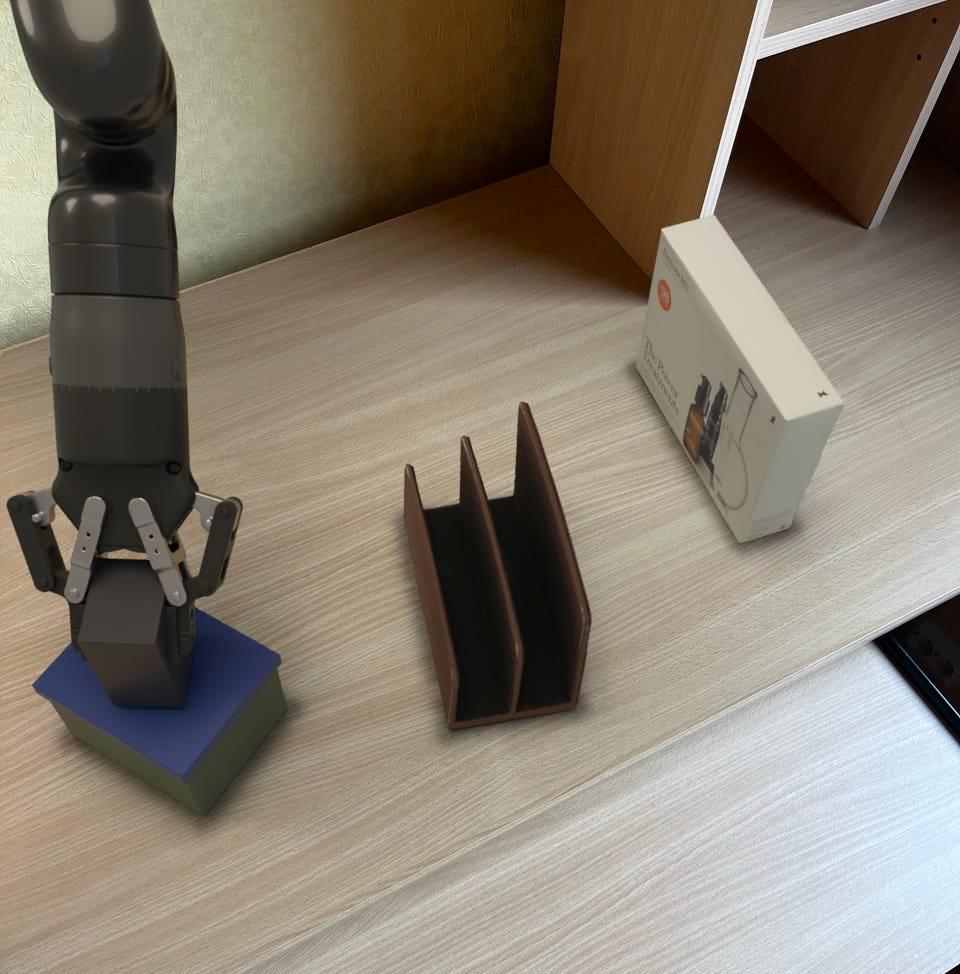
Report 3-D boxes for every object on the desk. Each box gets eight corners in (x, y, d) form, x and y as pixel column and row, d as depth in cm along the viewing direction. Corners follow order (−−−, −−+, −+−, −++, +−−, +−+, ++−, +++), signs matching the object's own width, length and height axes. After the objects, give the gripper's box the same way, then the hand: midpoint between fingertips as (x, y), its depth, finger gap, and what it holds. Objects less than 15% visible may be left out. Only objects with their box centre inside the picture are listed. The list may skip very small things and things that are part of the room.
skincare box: (628, 368, 100) (658, 224, 86) (681, 354, 101) (720, 210, 87) (733, 548, 90) (787, 418, 77) (791, 530, 92) (854, 399, 78)
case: (113, 706, 72) (76, 641, 64) (129, 627, 75) (96, 557, 67) (184, 708, 72) (155, 644, 64) (197, 629, 75) (171, 559, 67)
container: (66, 737, 80) (30, 685, 73) (159, 630, 84) (134, 572, 77) (205, 823, 77) (182, 777, 70) (293, 708, 82) (280, 654, 74)
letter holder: (519, 502, 92) (533, 384, 80) (578, 710, 82) (603, 612, 70) (402, 519, 91) (397, 401, 78) (447, 733, 81) (450, 637, 69)
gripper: (255, 381, 68) (260, 647, 72) (22, 373, 67) (41, 640, 72) (230, 385, 60) (237, 680, 65) (-31, 376, 60) (-6, 674, 65)
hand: (134, 658), depth 68 cm, fingers closed on case, 4 cm apart
